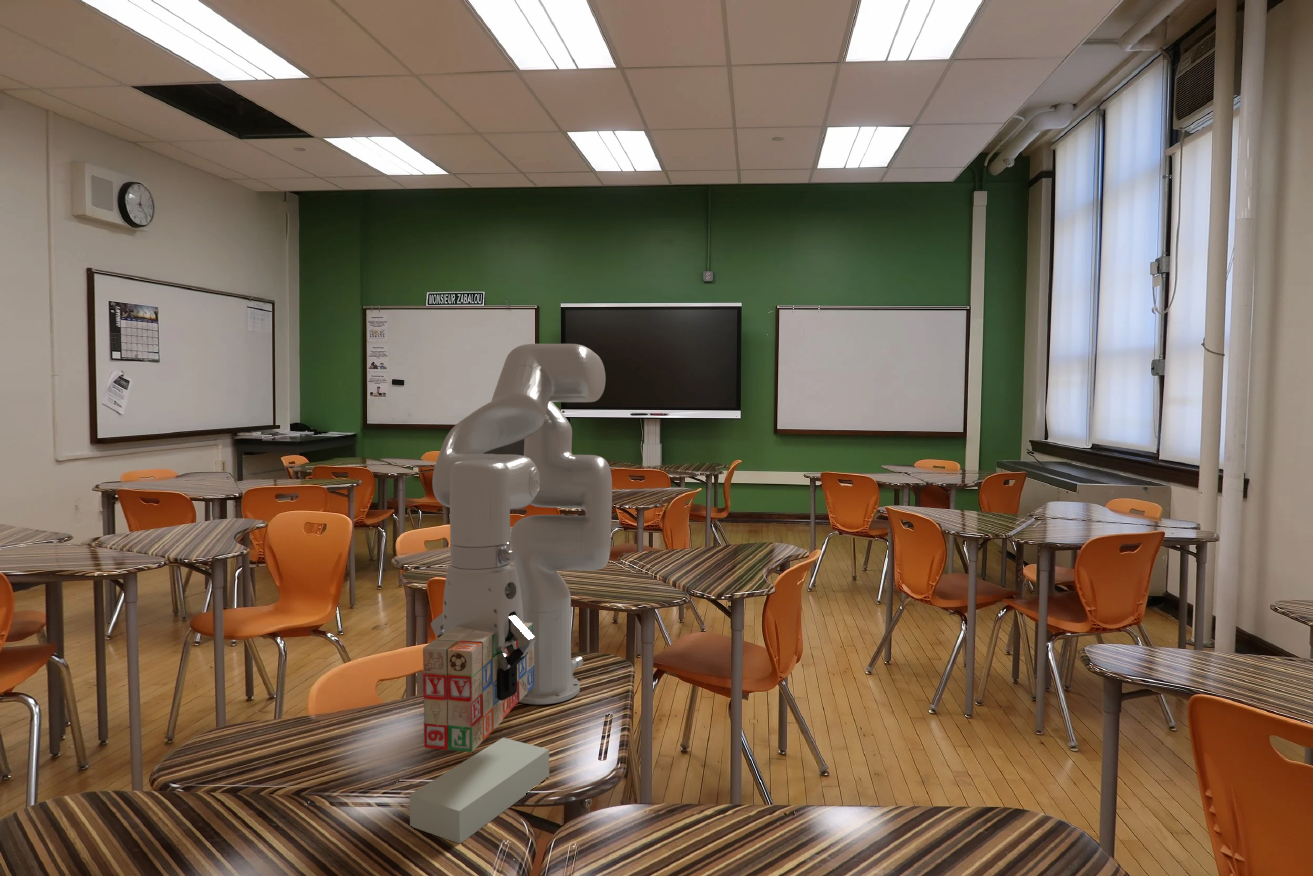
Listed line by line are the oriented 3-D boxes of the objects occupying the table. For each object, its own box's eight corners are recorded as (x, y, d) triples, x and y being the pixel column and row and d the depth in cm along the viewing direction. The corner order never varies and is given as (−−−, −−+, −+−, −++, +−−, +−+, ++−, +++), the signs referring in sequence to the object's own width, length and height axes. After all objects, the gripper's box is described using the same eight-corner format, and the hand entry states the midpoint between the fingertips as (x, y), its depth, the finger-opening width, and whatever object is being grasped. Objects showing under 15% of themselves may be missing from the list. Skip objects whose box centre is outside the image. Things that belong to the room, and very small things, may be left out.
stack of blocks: (494, 683, 114) (493, 599, 113) (535, 686, 113) (534, 601, 112) (423, 748, 93) (421, 646, 92) (472, 753, 92) (471, 649, 91)
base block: (503, 764, 113) (503, 737, 112) (549, 777, 109) (549, 749, 109) (410, 826, 97) (409, 794, 96) (459, 843, 93) (459, 811, 93)
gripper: (553, 557, 100) (554, 693, 101) (449, 545, 108) (451, 671, 109) (516, 569, 93) (517, 714, 94) (409, 554, 102) (411, 689, 103)
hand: (482, 690), depth 102 cm, fingers closed on stack of blocks, 7 cm apart
